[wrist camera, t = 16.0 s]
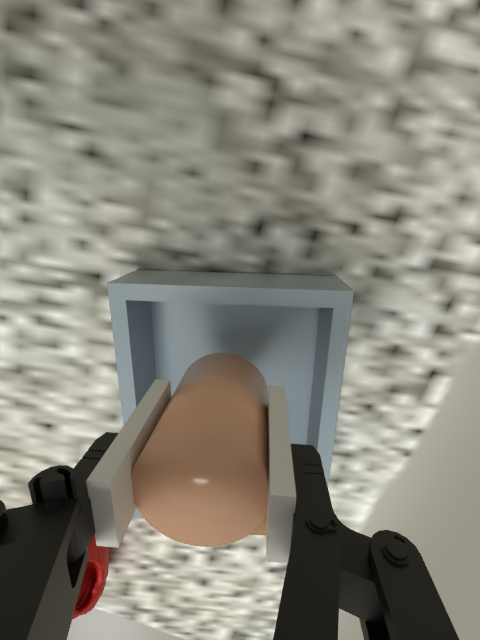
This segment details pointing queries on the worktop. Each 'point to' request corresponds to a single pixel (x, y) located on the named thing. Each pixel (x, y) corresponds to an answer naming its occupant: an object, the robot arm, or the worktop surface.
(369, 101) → the worktop surface
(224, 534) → the terracotta cylinder
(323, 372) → the tote
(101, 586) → the pomegranate
